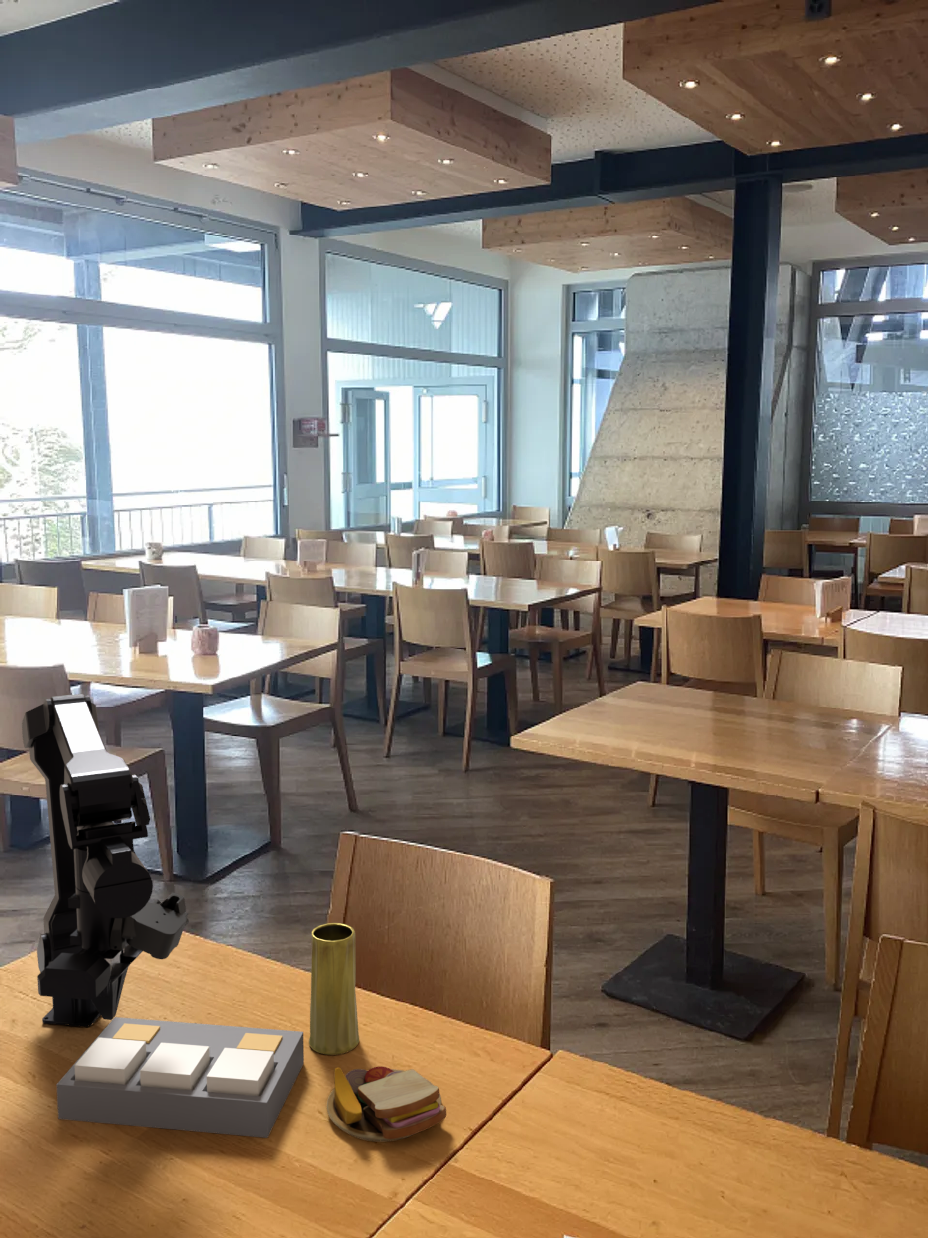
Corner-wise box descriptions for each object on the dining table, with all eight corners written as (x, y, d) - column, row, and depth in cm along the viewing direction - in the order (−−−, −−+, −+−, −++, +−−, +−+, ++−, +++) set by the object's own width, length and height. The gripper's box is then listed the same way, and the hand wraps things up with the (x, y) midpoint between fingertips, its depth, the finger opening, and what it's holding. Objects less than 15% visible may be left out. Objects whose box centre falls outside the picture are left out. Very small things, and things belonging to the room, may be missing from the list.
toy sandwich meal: (419, 1069, 124) (419, 1032, 124) (461, 1138, 112) (461, 1096, 111) (314, 1092, 120) (314, 1053, 119) (346, 1165, 108) (346, 1122, 107)
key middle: (161, 1063, 119) (161, 1042, 119) (209, 1067, 119) (209, 1046, 118) (140, 1092, 114) (140, 1071, 114) (191, 1096, 113) (190, 1075, 113)
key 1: (99, 1058, 120) (98, 1037, 120) (146, 1062, 120) (145, 1041, 119) (75, 1086, 115) (74, 1065, 114) (124, 1091, 114) (124, 1069, 114)
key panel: (58, 1119, 114) (56, 1082, 113) (116, 1048, 128) (114, 1014, 127) (267, 1138, 111) (266, 1100, 111) (303, 1063, 125) (303, 1029, 124)
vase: (350, 1059, 126) (349, 945, 124) (301, 1052, 127) (299, 940, 125) (365, 1032, 132) (364, 923, 130) (318, 1026, 133) (317, 918, 131)
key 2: (225, 1068, 119) (224, 1047, 118) (273, 1072, 118) (273, 1051, 118) (207, 1098, 113) (206, 1076, 113) (258, 1102, 112) (257, 1080, 112)
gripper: (138, 925, 104) (143, 1072, 106) (207, 855, 122) (210, 982, 124) (31, 917, 105) (38, 1063, 108) (115, 849, 123) (120, 975, 126)
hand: (109, 1018), depth 116 cm, fingers closed
